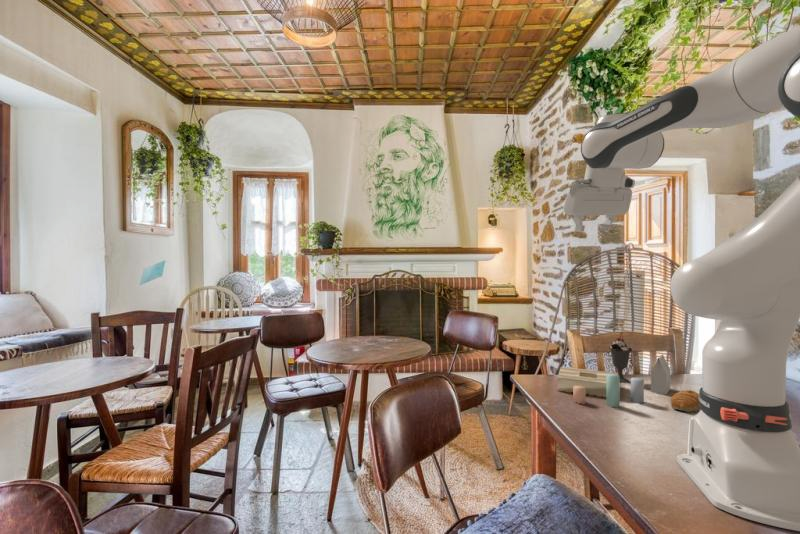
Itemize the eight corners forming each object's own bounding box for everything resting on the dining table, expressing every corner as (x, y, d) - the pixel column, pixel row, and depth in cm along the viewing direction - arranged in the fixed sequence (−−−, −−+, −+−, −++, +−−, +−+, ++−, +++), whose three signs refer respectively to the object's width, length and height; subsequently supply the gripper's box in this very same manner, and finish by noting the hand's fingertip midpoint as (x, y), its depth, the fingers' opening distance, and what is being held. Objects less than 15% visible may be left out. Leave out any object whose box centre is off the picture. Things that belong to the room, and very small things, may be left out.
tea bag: (670, 388, 114) (670, 355, 114) (666, 394, 109) (666, 359, 109) (655, 386, 116) (655, 353, 116) (651, 392, 111) (651, 357, 111)
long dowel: (619, 408, 99) (619, 377, 99) (606, 406, 101) (606, 376, 101) (619, 404, 102) (619, 374, 102) (606, 402, 103) (606, 373, 103)
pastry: (696, 416, 94) (696, 401, 94) (664, 409, 99) (664, 394, 99) (706, 407, 100) (706, 392, 100) (675, 400, 105) (675, 386, 105)
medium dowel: (644, 404, 102) (644, 381, 102) (631, 402, 103) (631, 380, 103) (643, 400, 105) (643, 378, 105) (630, 398, 106) (630, 377, 106)
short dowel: (585, 404, 102) (585, 389, 102) (573, 403, 103) (572, 388, 103) (585, 401, 105) (585, 386, 105) (573, 399, 106) (573, 385, 106)
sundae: (625, 376, 125) (625, 331, 125) (636, 383, 119) (636, 335, 118) (604, 376, 126) (604, 330, 126) (614, 383, 119) (614, 335, 119)
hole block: (620, 399, 106) (620, 384, 106) (557, 390, 113) (557, 377, 113) (617, 386, 117) (617, 372, 116) (560, 379, 124) (560, 366, 124)
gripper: (582, 179, 95) (572, 234, 99) (640, 181, 103) (628, 232, 107) (563, 177, 101) (554, 229, 105) (619, 179, 108) (609, 228, 112)
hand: (592, 231), depth 106 cm, fingers open, 8 cm apart
